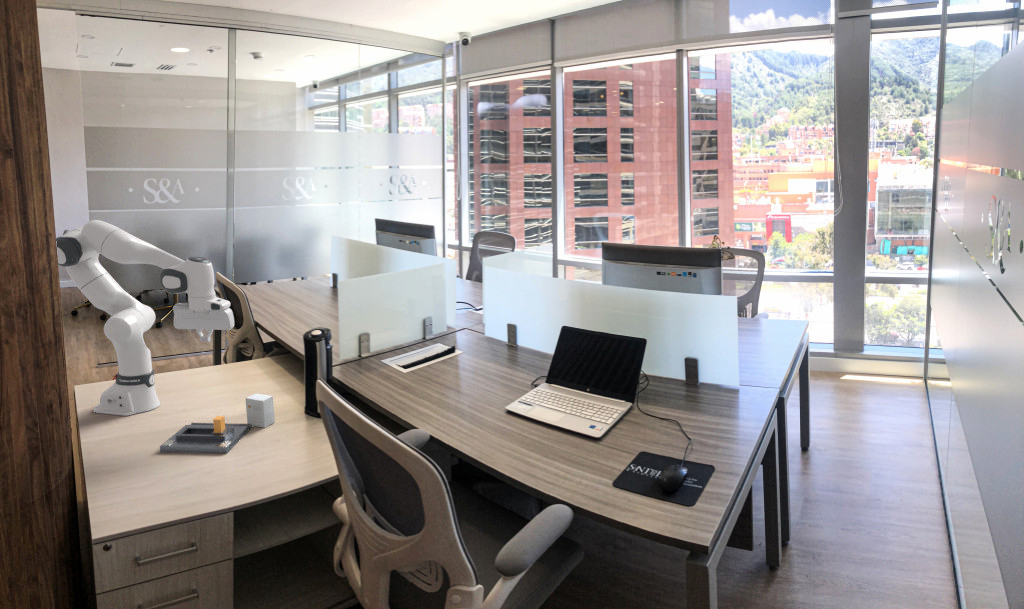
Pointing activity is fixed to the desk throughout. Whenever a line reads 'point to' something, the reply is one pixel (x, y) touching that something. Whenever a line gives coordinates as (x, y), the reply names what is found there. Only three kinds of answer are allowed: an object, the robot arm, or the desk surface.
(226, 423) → the twin grey rods
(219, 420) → the lever
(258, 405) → the small box
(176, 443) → the breaker panel
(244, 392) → the desk surface
